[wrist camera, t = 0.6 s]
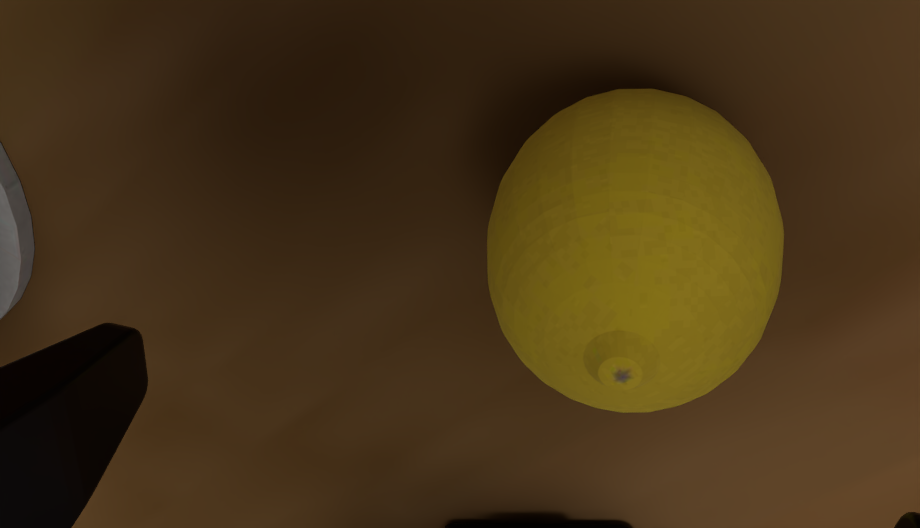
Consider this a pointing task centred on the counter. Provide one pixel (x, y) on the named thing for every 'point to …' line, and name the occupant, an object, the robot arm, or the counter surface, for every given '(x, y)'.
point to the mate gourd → (13, 237)
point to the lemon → (635, 250)
